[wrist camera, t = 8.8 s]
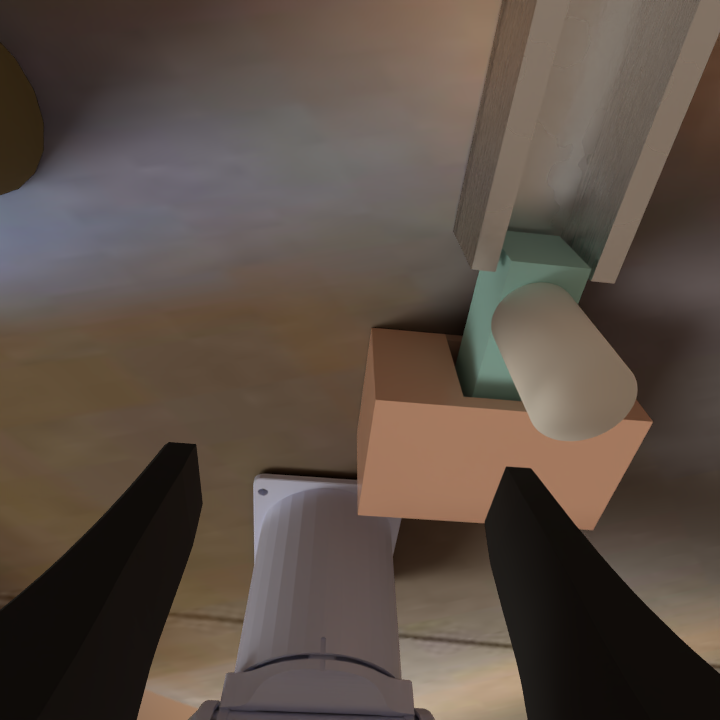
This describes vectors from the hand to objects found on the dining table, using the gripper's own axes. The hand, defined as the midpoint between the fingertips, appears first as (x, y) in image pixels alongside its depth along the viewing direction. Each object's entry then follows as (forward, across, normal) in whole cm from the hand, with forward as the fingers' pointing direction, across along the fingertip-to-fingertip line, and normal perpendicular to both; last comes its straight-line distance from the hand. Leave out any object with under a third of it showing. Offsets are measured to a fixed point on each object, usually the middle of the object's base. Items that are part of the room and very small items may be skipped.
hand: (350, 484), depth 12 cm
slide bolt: (+10, -6, +1) cm, 12 cm away
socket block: (+10, -6, +5) cm, 13 cm away
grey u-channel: (+11, -6, -7) cm, 14 cm away
